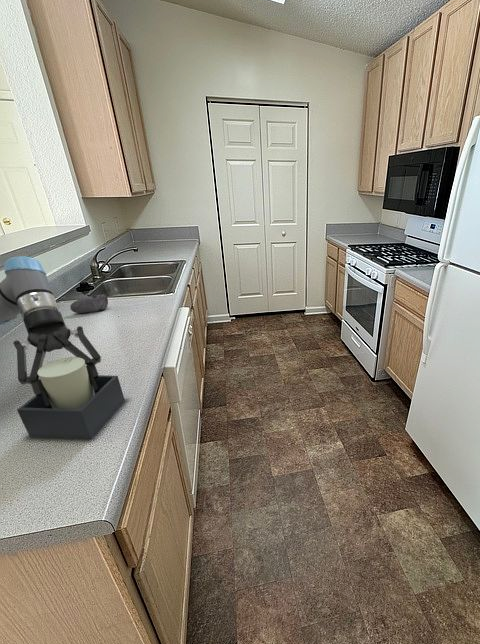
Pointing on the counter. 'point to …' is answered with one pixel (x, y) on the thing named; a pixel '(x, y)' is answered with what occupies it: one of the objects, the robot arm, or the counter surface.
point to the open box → (73, 413)
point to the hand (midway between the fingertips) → (73, 398)
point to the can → (67, 383)
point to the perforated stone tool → (90, 304)
